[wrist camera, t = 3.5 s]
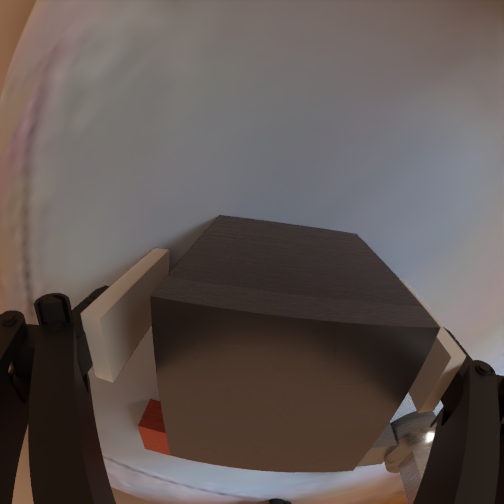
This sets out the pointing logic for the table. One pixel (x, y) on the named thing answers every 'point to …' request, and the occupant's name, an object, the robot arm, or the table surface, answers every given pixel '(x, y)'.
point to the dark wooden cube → (283, 347)
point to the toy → (278, 501)
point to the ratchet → (383, 450)
